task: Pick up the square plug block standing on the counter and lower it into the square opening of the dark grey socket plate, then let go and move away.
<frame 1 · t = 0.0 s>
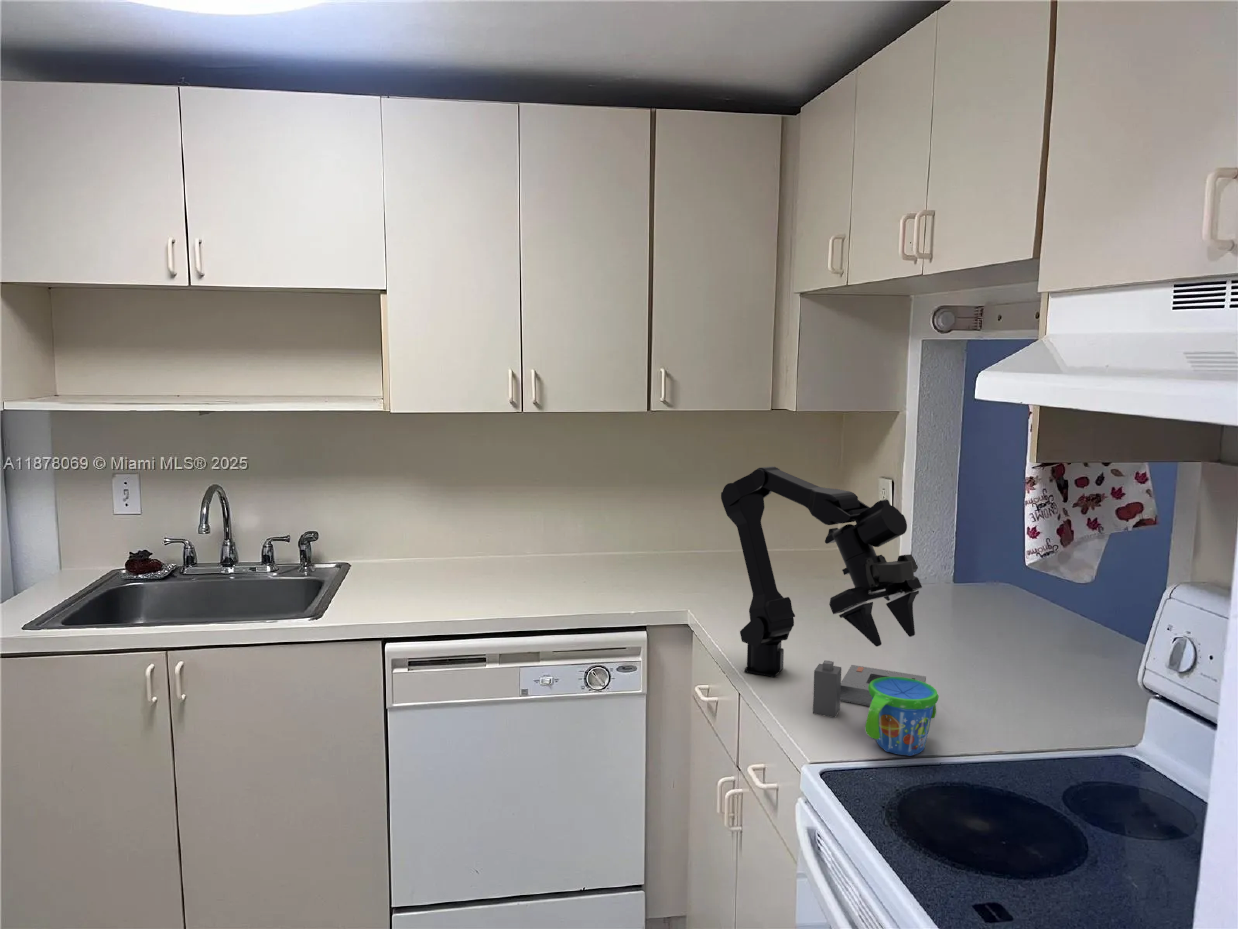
hand: (896, 640, 146), 15 cm above the countertop, tool tilted 35°, fingers open, 9 cm apart
snack cup: (900, 748, 139), on the countertop
socket plate: (882, 696, 160), on the countertop
plug: (826, 711, 153), on the countertop
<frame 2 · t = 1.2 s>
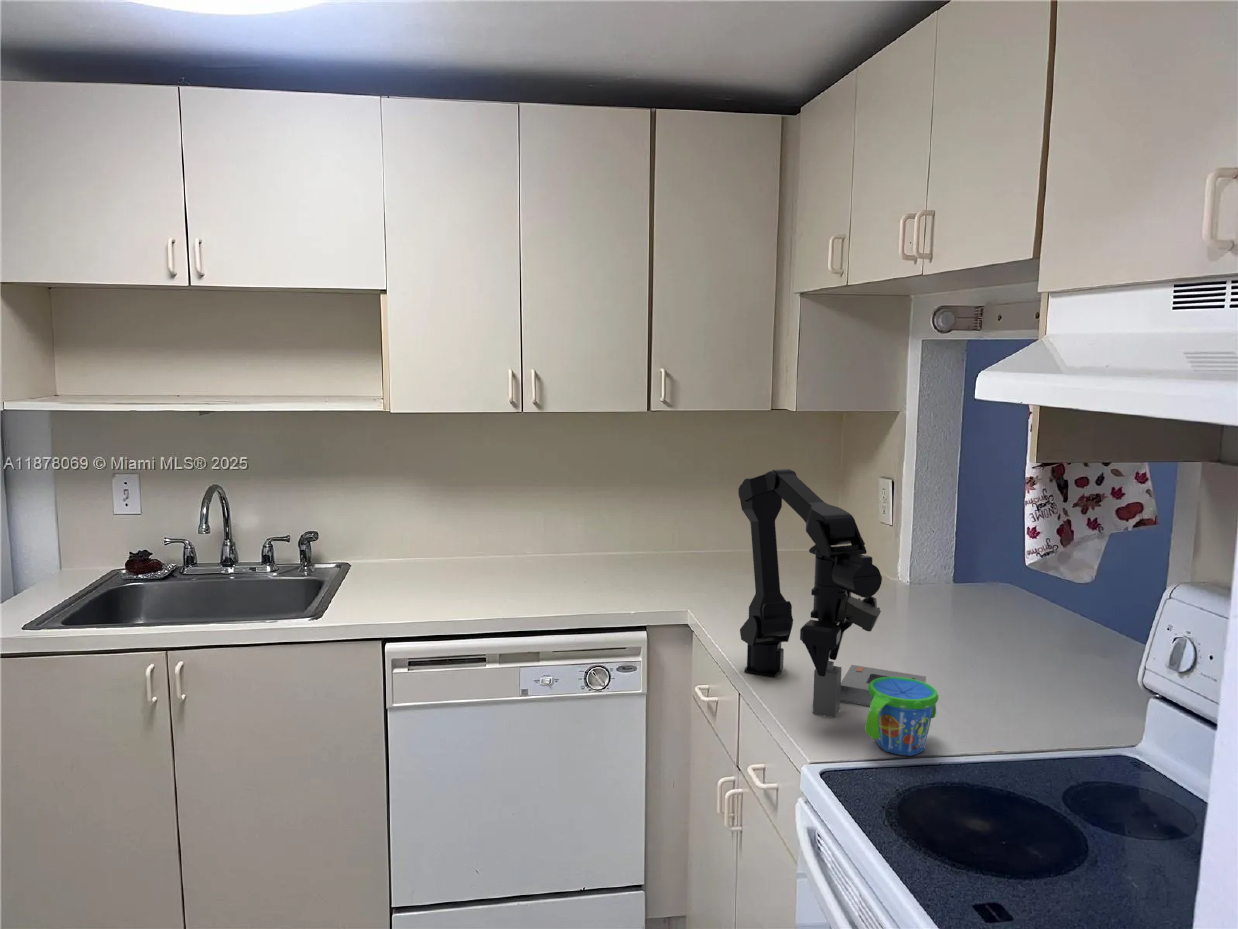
hand: (827, 667, 152), 8 cm above the countertop, tool pointing down, fingers open, 9 cm apart
nothing on the countertop moved.
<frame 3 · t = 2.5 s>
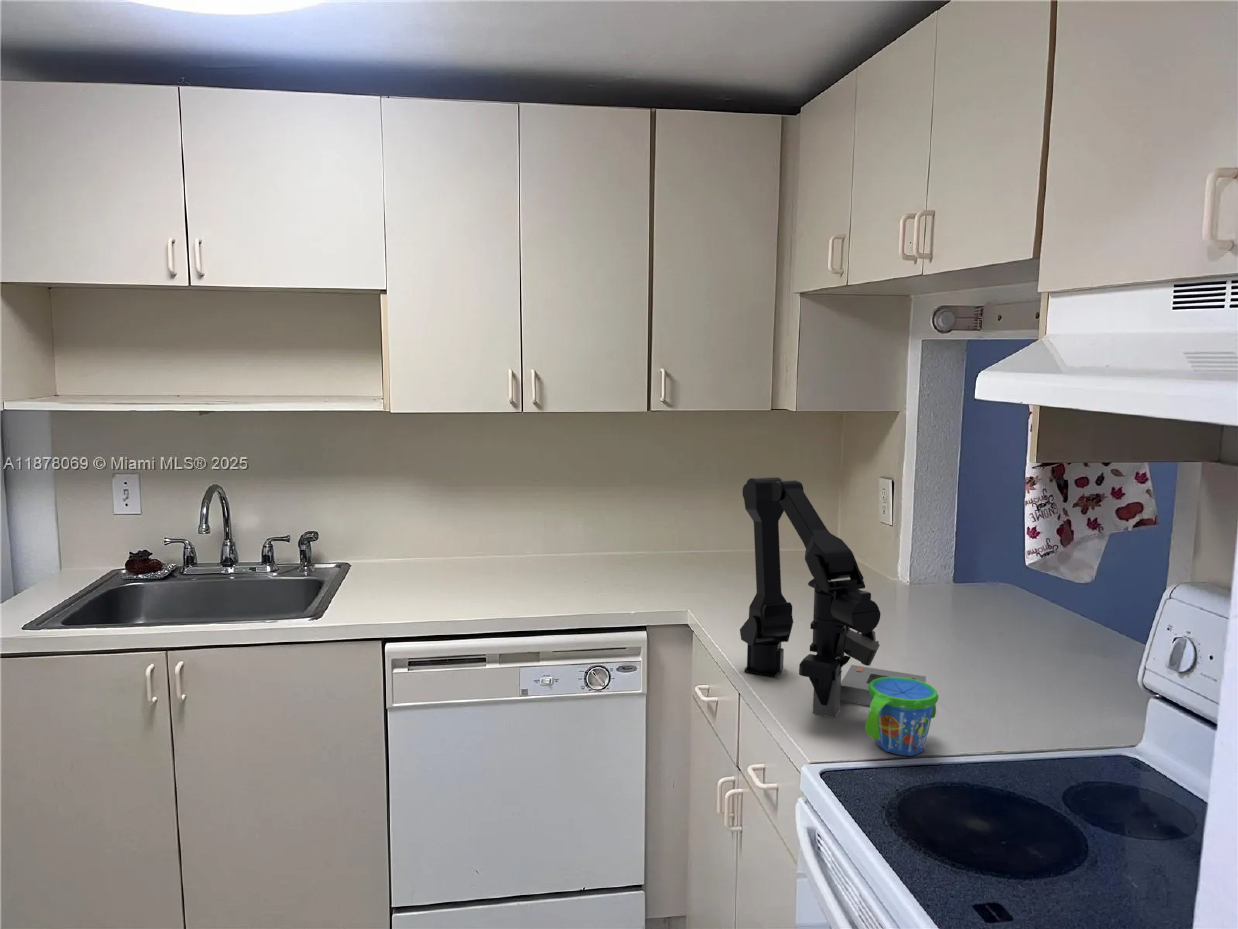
hand: (826, 700, 153), 2 cm above the countertop, tool pointing down, fingers closed on plug, 4 cm apart
plug: (826, 711, 153), on the countertop, touching gripper
everything else where it was.
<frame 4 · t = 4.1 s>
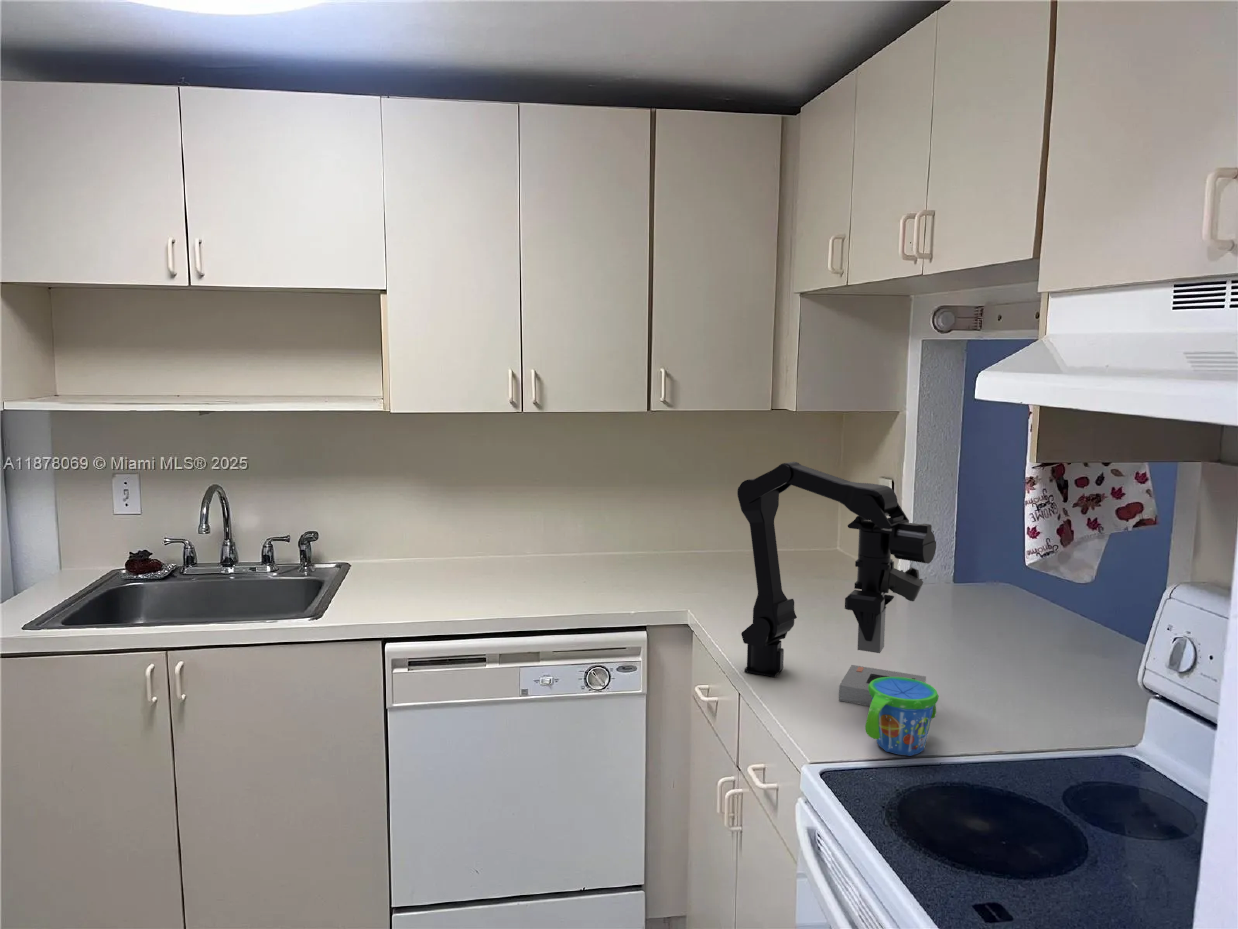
hand: (871, 637, 157), 12 cm above the countertop, tool pointing down, fingers closed on plug, 4 cm apart
plug: (870, 648, 157), point 10 cm above the countertop, touching gripper
everything else where it was.
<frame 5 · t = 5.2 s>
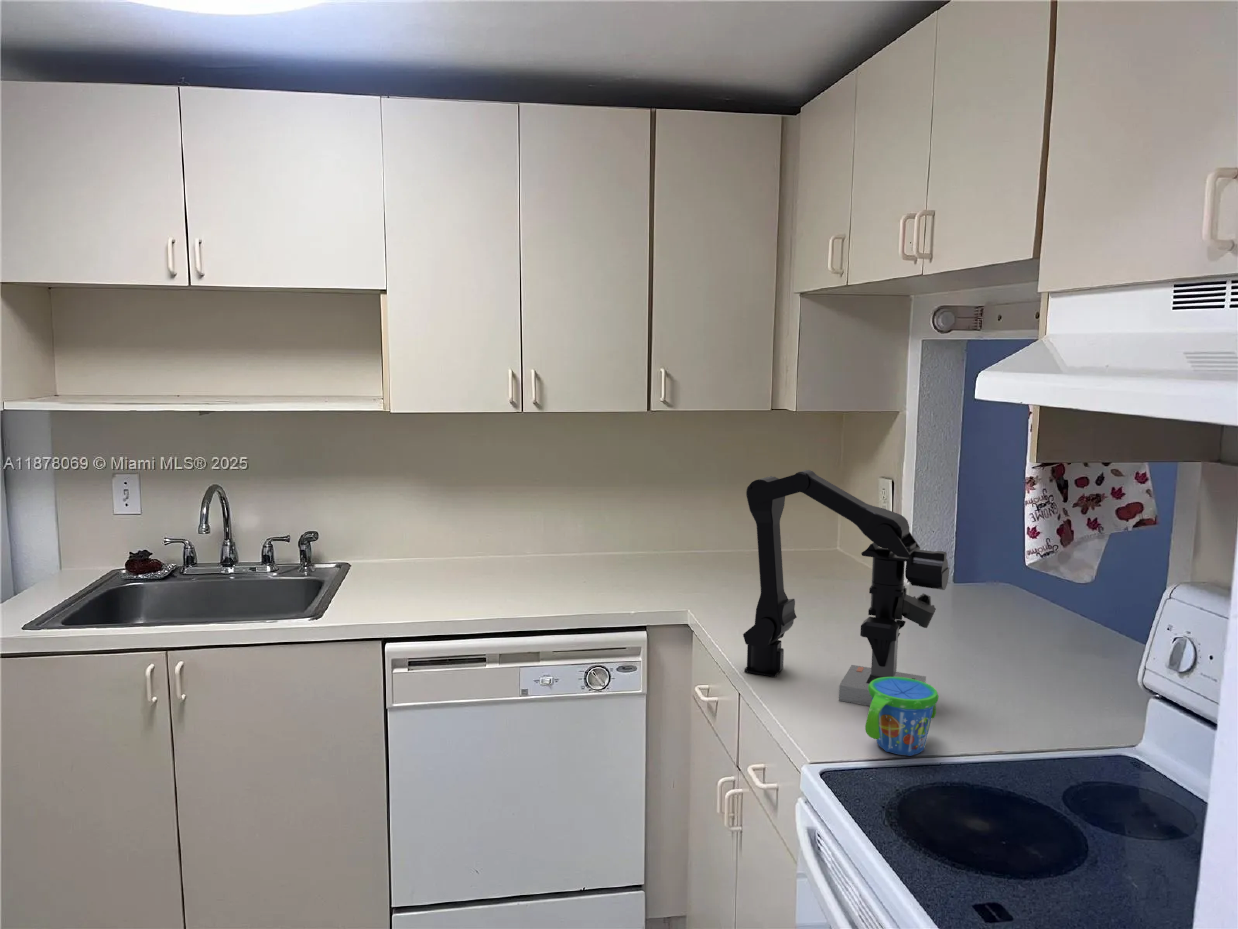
hand: (883, 662, 159), 7 cm above the countertop, tool pointing down, fingers closed on plug, 4 cm apart
plug: (883, 673, 160), point 4 cm above the countertop, touching gripper
everything else where it was.
when the fingers open (4 cm above the countertop, at t = 6.0 s): plug drops 2 cm, resting in socket plate.
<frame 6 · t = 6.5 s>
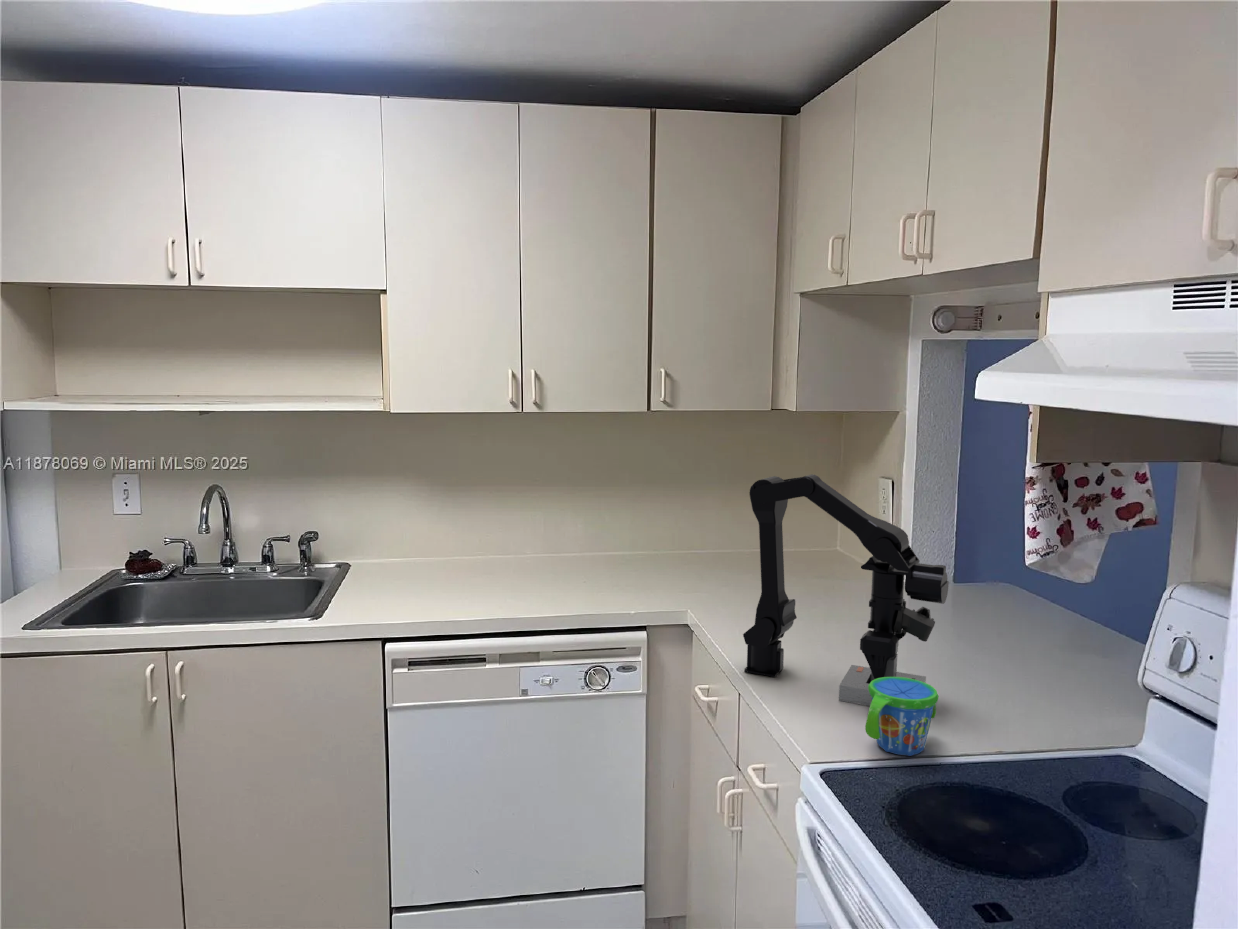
hand: (883, 675, 160), 4 cm above the countertop, tool pointing down, fingers open, 9 cm apart
plug: (882, 696, 160), resting in socket plate
everything else where it was.
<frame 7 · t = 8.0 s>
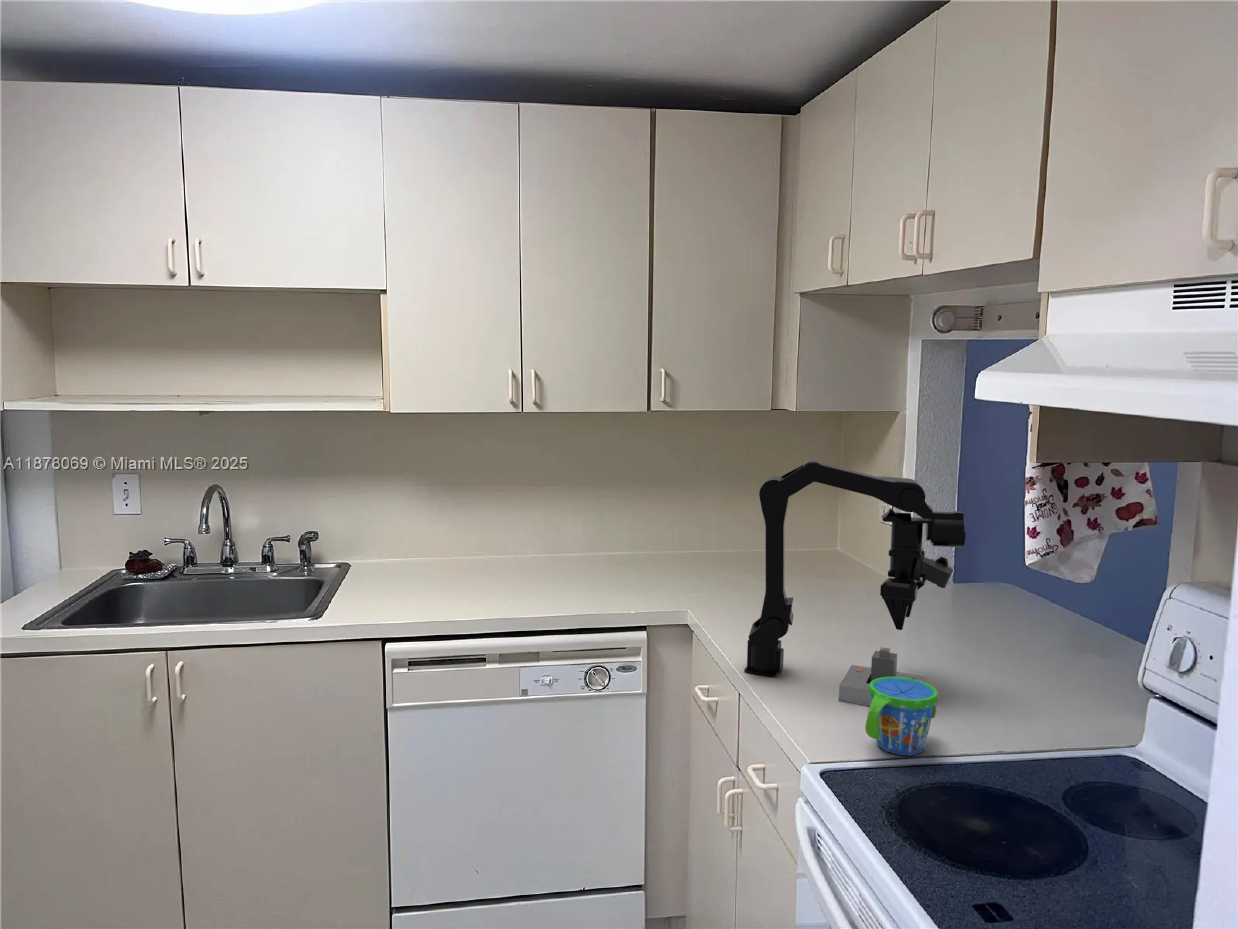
hand: (903, 623, 165), 12 cm above the countertop, tool pointing down, fingers open, 9 cm apart
nothing on the countertop moved.
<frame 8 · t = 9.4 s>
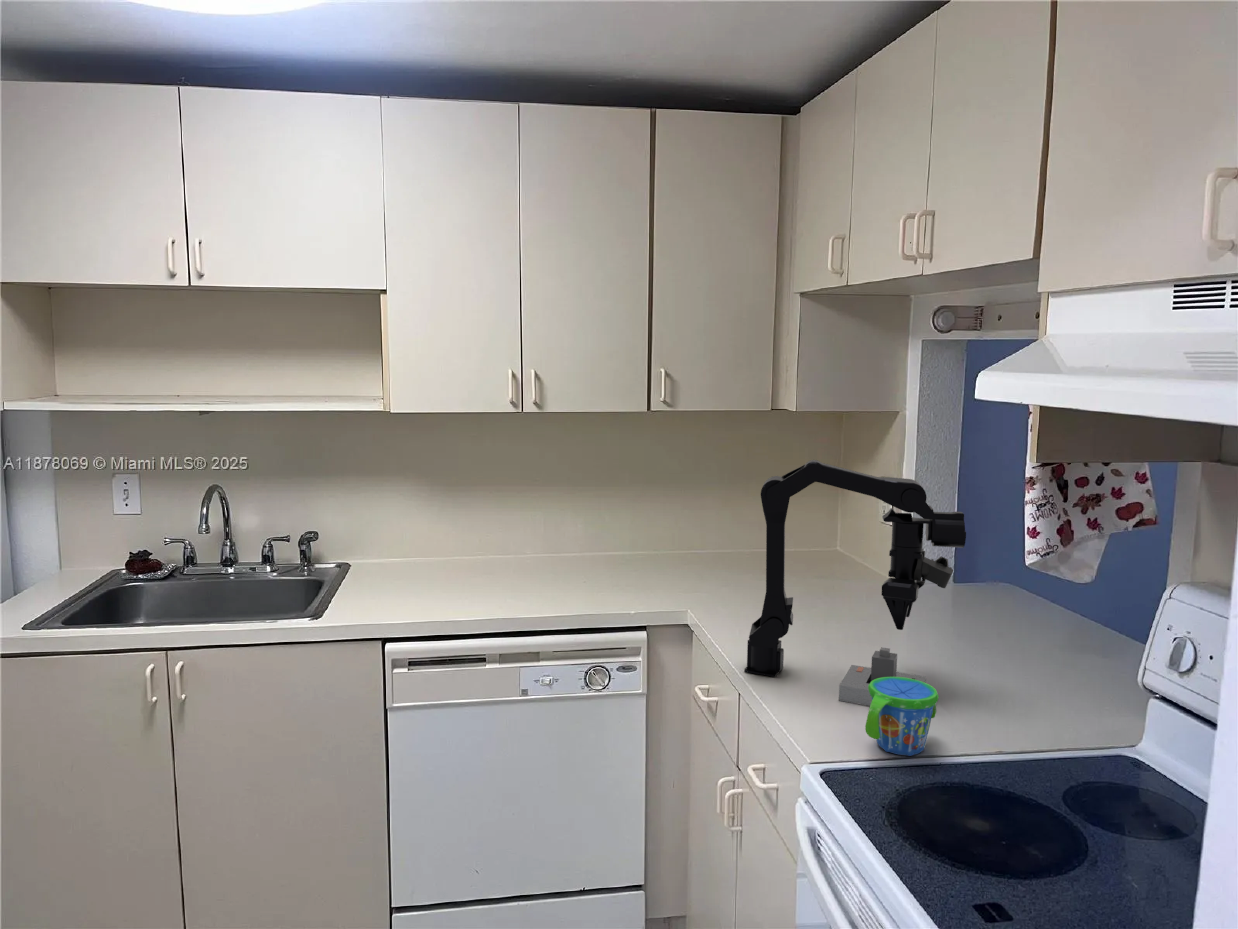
hand: (903, 623, 166), 12 cm above the countertop, tool pointing down, fingers open, 9 cm apart
nothing on the countertop moved.
at the end: plug 0.0 cm off-centre on the socket plate, point 0.0 cm above the socket plate's base; plug tilted 0°; the gripper is holding nothing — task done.
